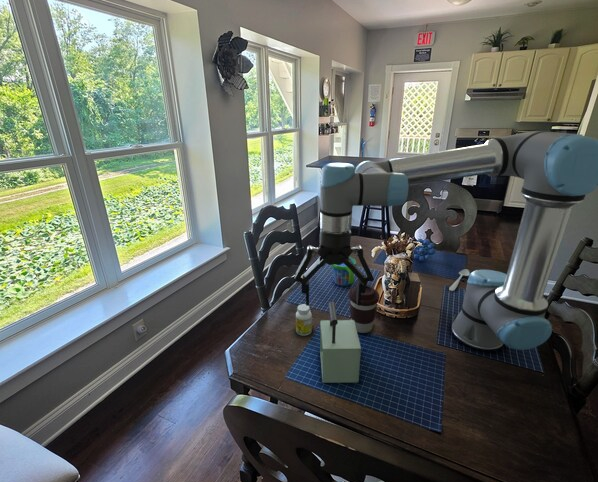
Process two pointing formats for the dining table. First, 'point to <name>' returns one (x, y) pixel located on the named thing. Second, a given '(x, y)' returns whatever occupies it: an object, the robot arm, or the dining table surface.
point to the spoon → (463, 273)
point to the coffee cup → (363, 308)
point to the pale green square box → (339, 349)
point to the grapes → (424, 250)
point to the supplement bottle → (303, 320)
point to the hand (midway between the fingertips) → (332, 302)
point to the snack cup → (343, 274)
